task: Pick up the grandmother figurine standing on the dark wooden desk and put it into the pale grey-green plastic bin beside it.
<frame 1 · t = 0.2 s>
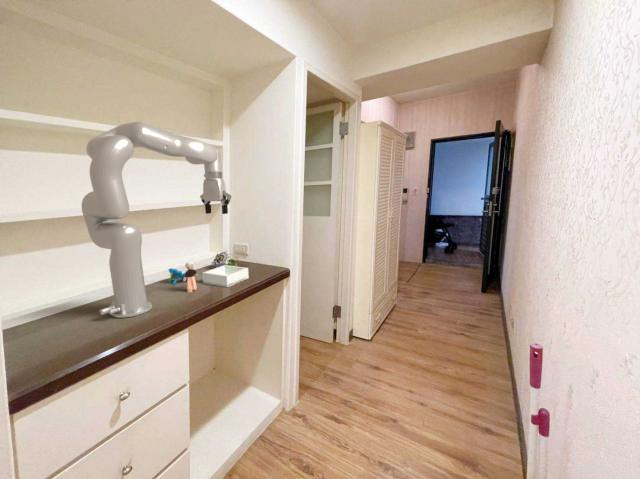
hand: (216, 213, 142), 31 cm above the table, tool pointing down, fingers open, 9 cm apart
blue dinosaur toy: (179, 282, 140), on the table
passion flower: (225, 269, 161), on the table
grandmother figurine: (192, 290, 128), on the table
bin: (226, 280, 141), on the table
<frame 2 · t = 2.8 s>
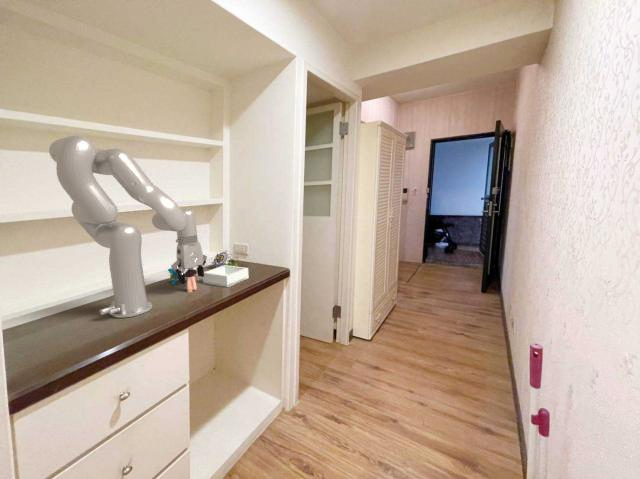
hand: (192, 279, 128), 5 cm above the table, tool pointing down, fingers open, 9 cm apart
nothing on the table moved.
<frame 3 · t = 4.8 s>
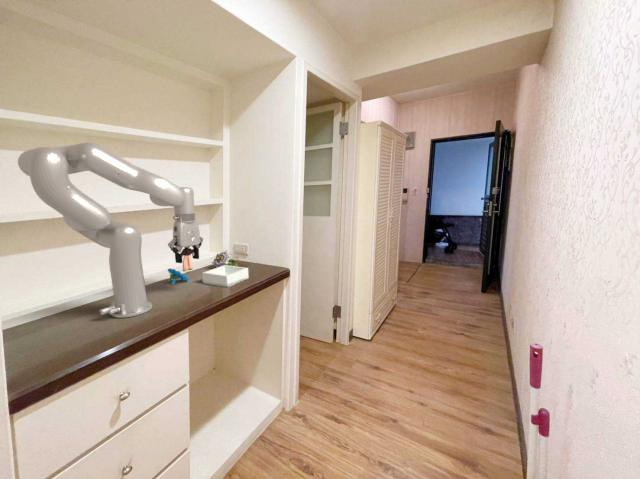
hand: (187, 260, 125), 13 cm above the table, tool pointing down, fingers closed on grandmother figurine, 7 cm apart
grandmother figurine: (188, 270, 126), point 9 cm above the table, touching gripper
everything else where it was.
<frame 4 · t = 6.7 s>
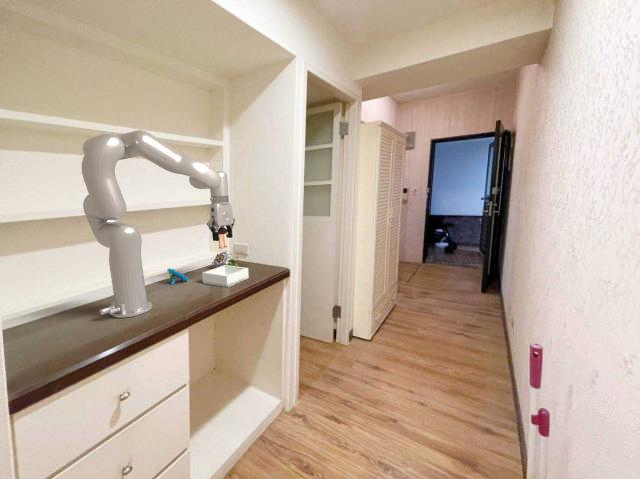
hand: (222, 238, 137), 20 cm above the table, tool pointing down, fingers closed on grandmother figurine, 7 cm apart
grandmother figurine: (223, 247, 138), point 16 cm above the table, touching gripper
everything else where it was.
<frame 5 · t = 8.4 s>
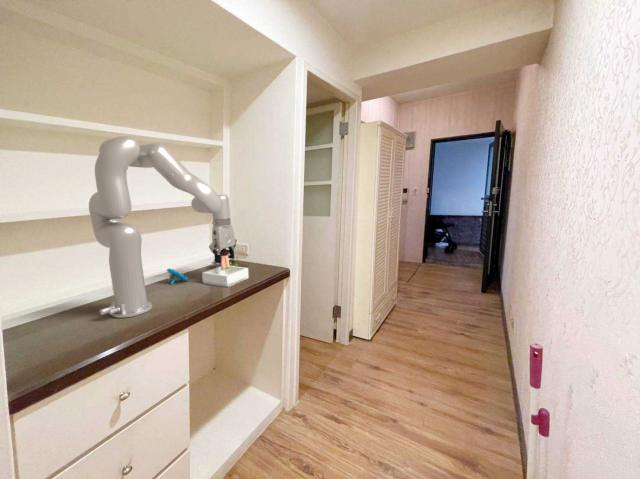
hand: (224, 260, 139), 10 cm above the table, tool pointing down, fingers closed on grandmother figurine, 7 cm apart
grandmother figurine: (225, 269, 140), point 6 cm above the table, touching gripper
everything else where it was.
when the fingers open (7 cm above the table, at t = 10.1 s): grandmother figurine drops 2 cm, resting on bin.
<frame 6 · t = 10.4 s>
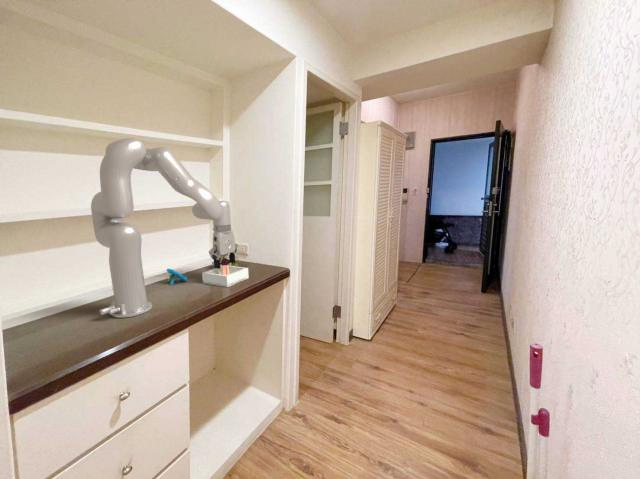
hand: (225, 265, 139), 7 cm above the table, tool pointing down, fingers open, 9 cm apart
grandmother figurine: (226, 278, 140), point 1 cm above the table, touching bin
everything else where it was.
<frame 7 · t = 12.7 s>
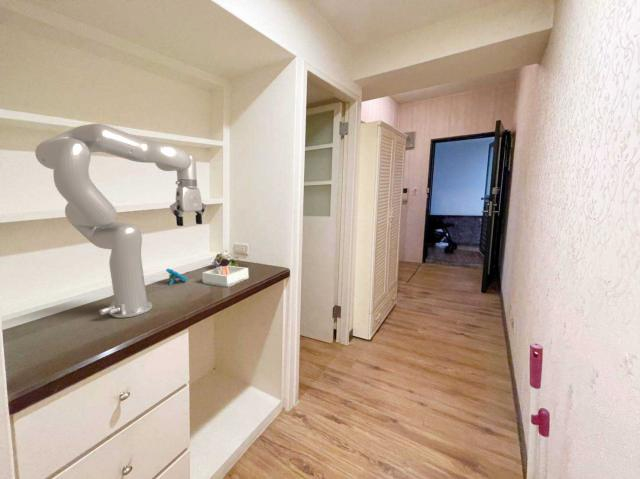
hand: (189, 224, 130), 27 cm above the table, tool pointing down, fingers open, 9 cm apart
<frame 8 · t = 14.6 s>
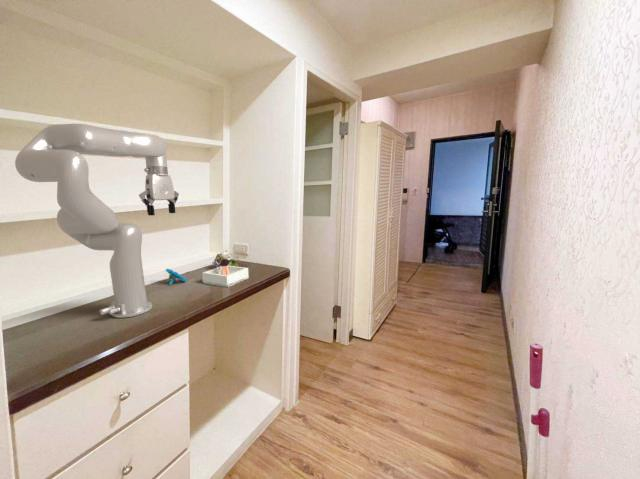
hand: (162, 214, 125), 32 cm above the table, tool pointing down, fingers open, 9 cm apart
at the end: grandmother figurine inside the target area on the bin (0.1 cm from its centre), point 0.8 cm above the bin's base; the gripper is holding nothing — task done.
